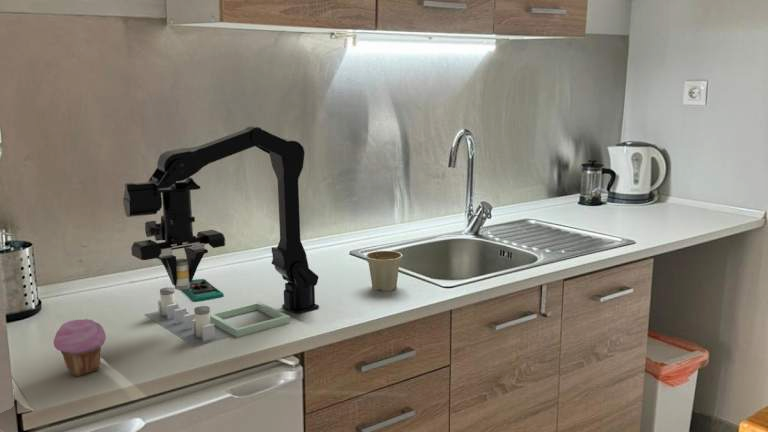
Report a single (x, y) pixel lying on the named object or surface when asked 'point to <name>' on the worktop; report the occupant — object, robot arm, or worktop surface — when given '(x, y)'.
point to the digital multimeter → (202, 290)
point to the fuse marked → (182, 274)
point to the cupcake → (80, 345)
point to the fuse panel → (185, 325)
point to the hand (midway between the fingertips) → (182, 283)
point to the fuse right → (201, 319)
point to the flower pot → (384, 269)
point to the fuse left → (166, 299)
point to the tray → (279, 320)
